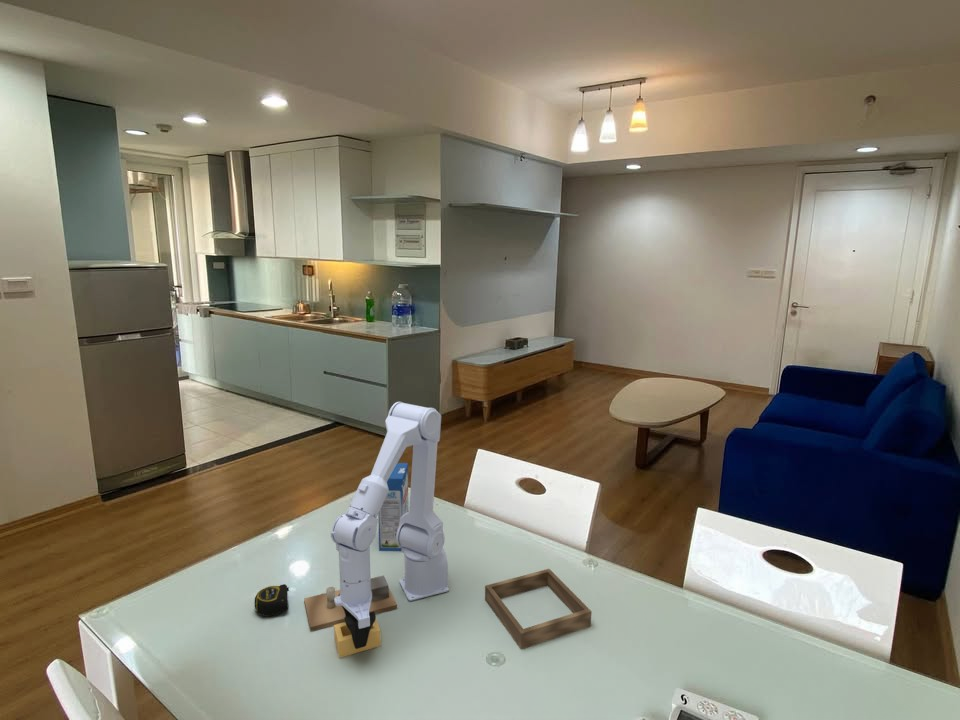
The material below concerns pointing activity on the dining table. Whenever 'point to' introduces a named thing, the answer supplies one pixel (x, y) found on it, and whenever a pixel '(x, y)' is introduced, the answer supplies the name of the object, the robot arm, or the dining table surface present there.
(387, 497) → the milk carton
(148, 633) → the dining table surface
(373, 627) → the link
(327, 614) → the board
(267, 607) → the tape measure
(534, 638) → the frame
